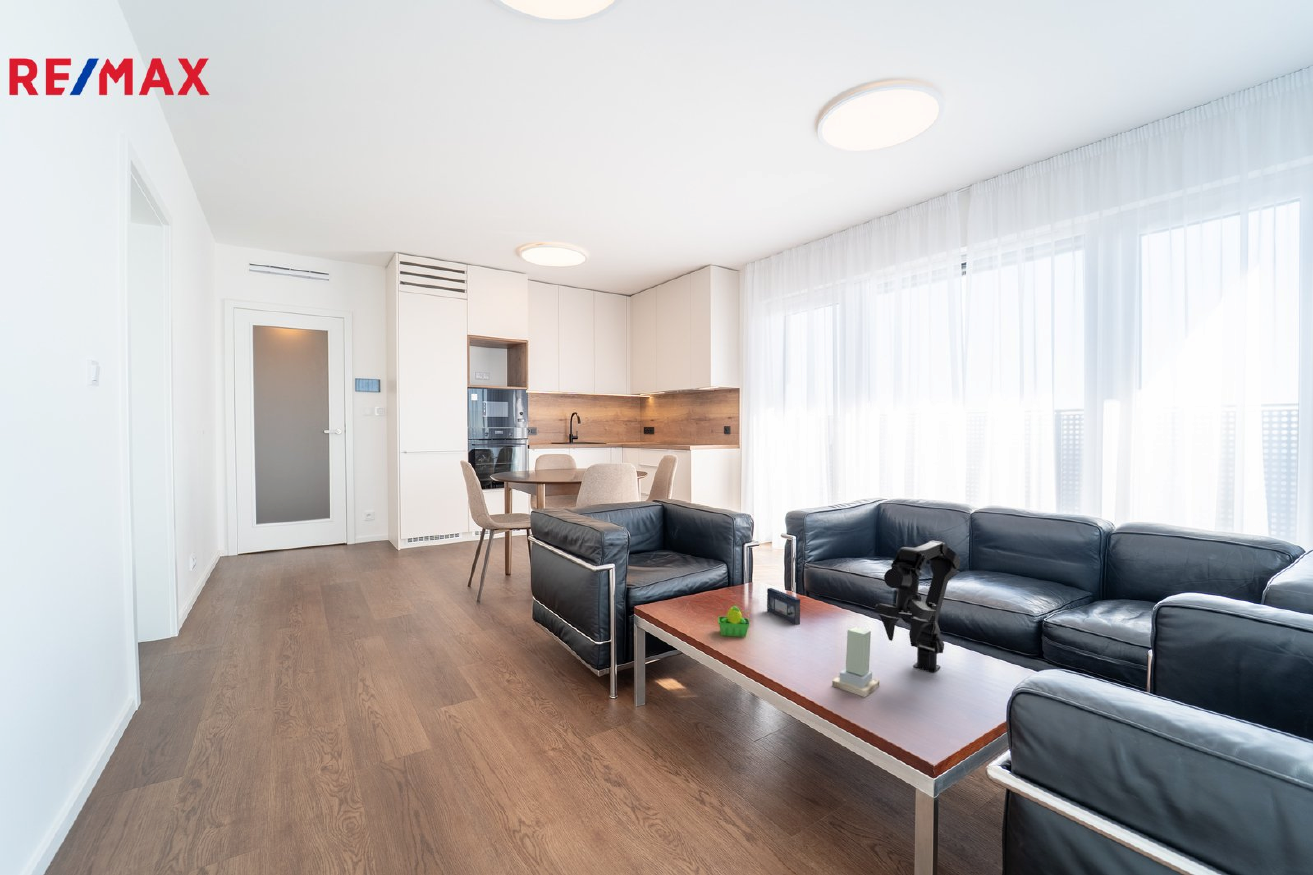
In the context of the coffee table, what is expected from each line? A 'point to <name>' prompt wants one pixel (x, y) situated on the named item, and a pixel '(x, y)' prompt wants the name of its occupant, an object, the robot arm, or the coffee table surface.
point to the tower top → (855, 678)
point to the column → (858, 651)
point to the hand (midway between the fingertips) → (902, 641)
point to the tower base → (856, 687)
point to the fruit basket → (733, 623)
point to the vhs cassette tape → (783, 605)
